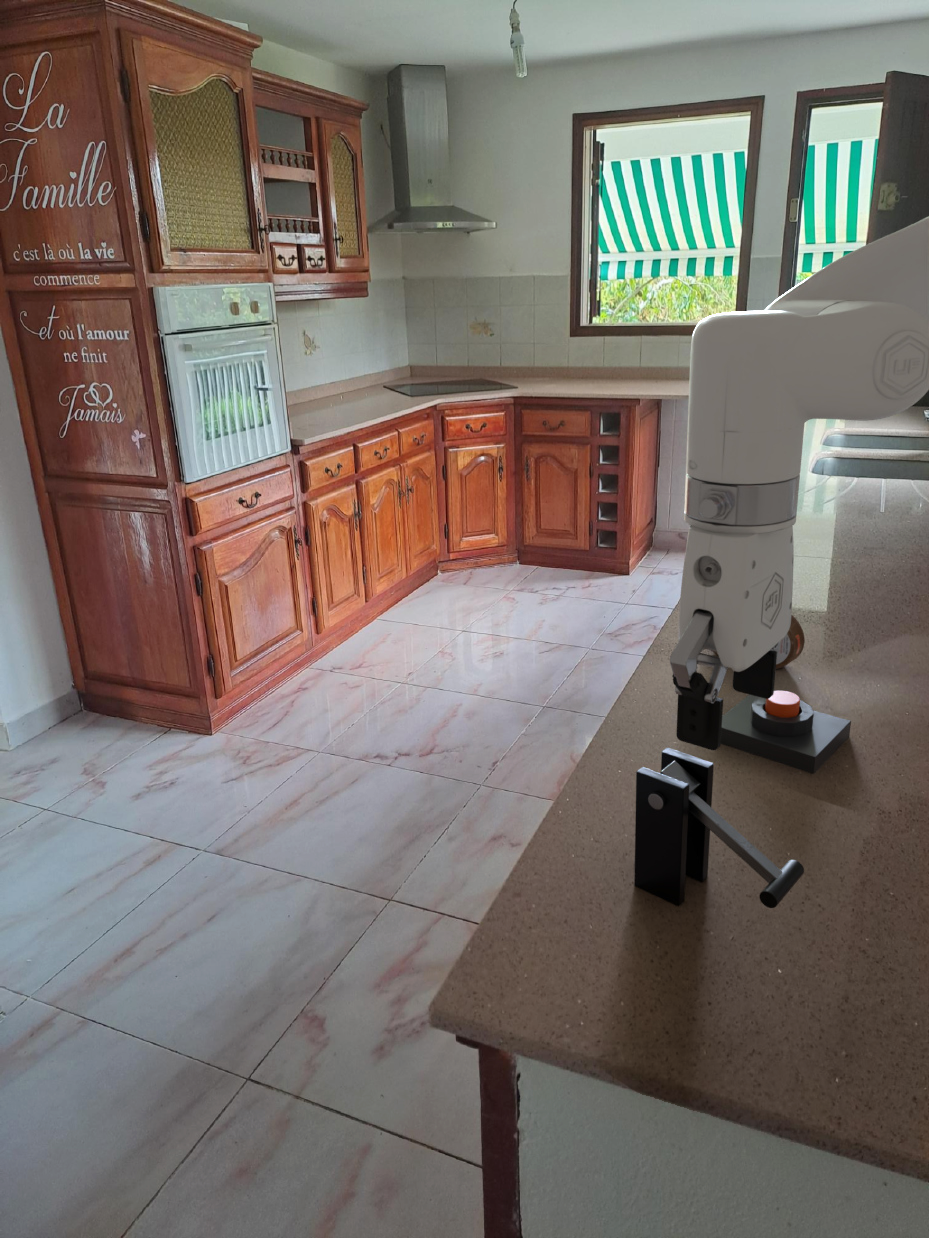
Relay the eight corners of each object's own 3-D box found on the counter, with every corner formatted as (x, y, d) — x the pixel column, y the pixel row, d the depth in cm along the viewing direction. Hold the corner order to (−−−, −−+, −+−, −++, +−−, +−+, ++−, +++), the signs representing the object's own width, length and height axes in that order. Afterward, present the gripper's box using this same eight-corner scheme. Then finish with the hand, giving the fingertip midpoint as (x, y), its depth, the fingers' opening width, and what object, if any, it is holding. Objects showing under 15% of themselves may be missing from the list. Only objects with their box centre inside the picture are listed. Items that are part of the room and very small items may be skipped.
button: (804, 709, 100) (805, 695, 99) (790, 721, 97) (791, 707, 96) (773, 701, 102) (774, 687, 101) (759, 712, 99) (760, 698, 99)
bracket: (752, 892, 77) (762, 765, 72) (702, 949, 71) (709, 815, 66) (643, 845, 84) (646, 726, 79) (589, 893, 78) (588, 768, 73)
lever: (795, 882, 71) (811, 866, 70) (767, 914, 68) (783, 898, 66) (670, 770, 76) (683, 753, 75) (639, 795, 73) (651, 778, 72)
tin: (803, 669, 117) (808, 611, 114) (792, 678, 115) (797, 618, 112) (702, 642, 127) (705, 588, 124) (691, 649, 125) (693, 594, 122)
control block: (849, 737, 100) (852, 706, 99) (813, 775, 94) (816, 742, 92) (750, 708, 108) (752, 679, 107) (710, 741, 101) (712, 710, 100)
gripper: (740, 537, 53) (724, 783, 59) (837, 479, 65) (816, 687, 71) (630, 521, 57) (626, 751, 64) (740, 470, 70) (728, 666, 76)
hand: (726, 717), depth 67 cm, fingers open, 9 cm apart
